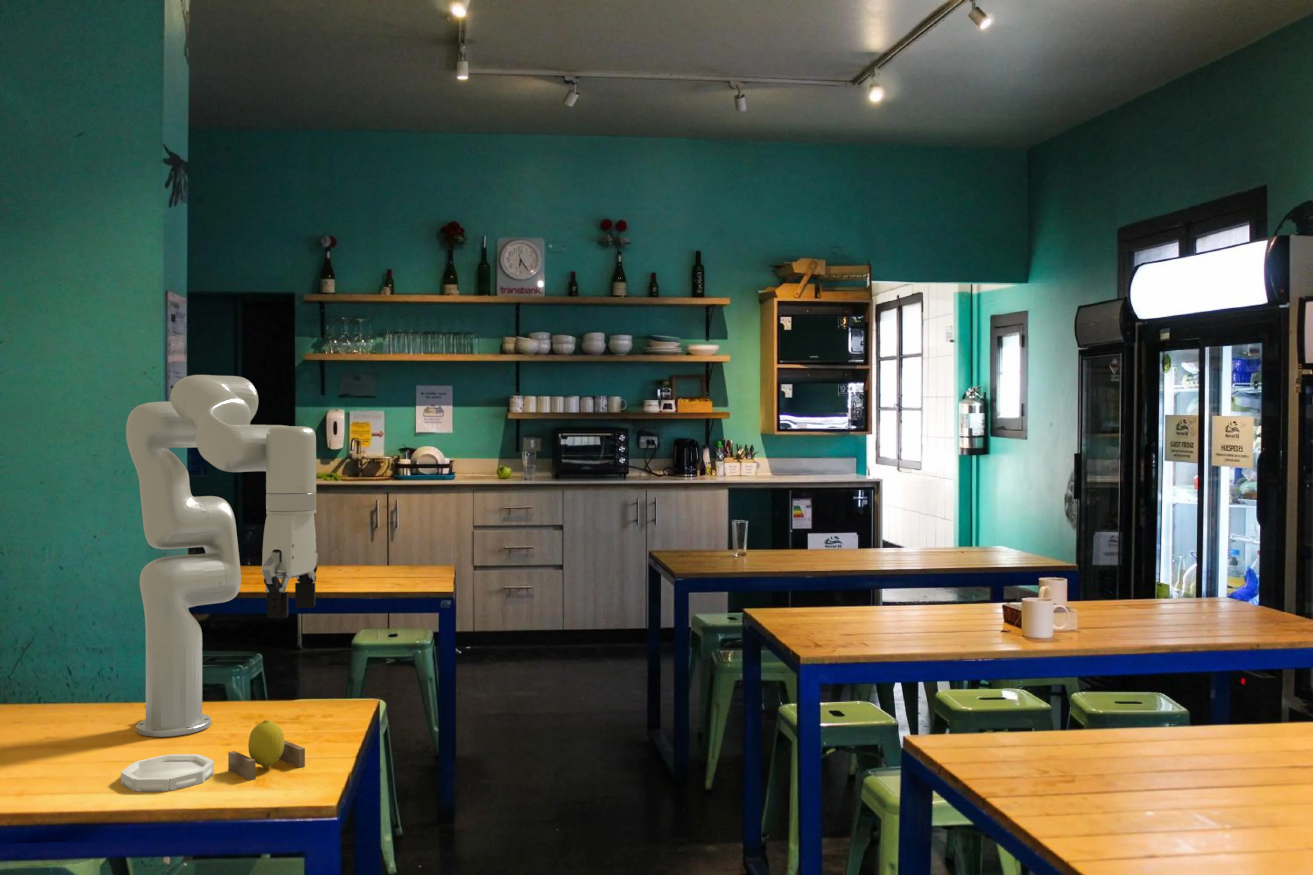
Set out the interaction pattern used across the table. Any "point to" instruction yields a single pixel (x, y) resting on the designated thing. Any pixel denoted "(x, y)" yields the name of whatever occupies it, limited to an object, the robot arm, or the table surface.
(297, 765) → the rack
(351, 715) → the table surface
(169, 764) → the saucer
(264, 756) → the lemon
